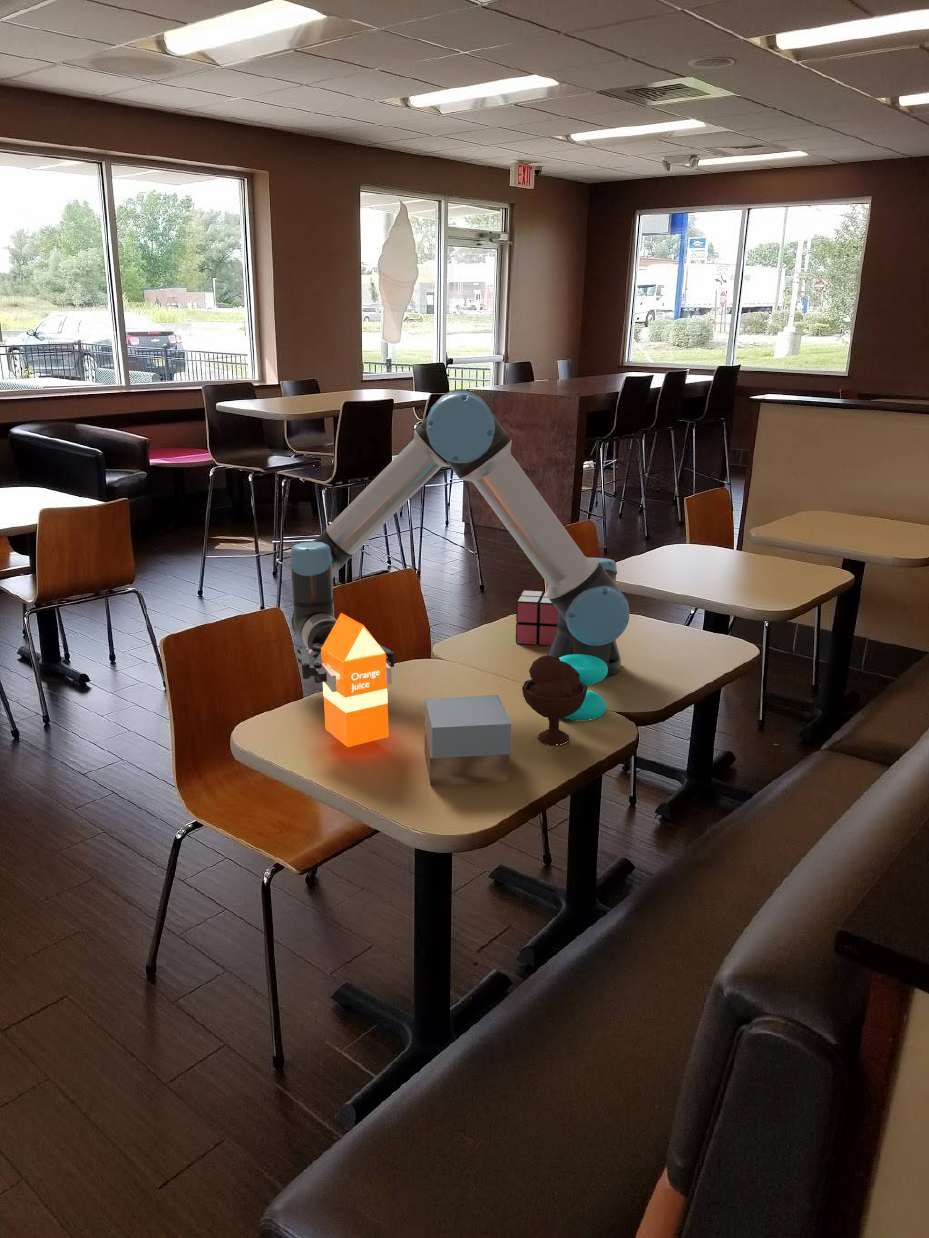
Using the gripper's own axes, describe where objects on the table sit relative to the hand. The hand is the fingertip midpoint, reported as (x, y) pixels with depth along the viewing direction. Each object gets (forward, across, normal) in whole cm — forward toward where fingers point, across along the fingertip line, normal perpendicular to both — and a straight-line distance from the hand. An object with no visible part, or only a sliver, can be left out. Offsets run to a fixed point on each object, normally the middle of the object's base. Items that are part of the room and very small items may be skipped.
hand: (361, 679), depth 148 cm
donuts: (-3, -41, -14) cm, 43 cm away
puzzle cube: (-45, -54, -14) cm, 72 cm away
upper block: (+10, -14, -9) cm, 19 cm away
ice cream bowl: (+6, -32, -14) cm, 35 cm away
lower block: (+10, -14, -14) cm, 22 cm away
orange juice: (-5, 0, -11) cm, 12 cm away
